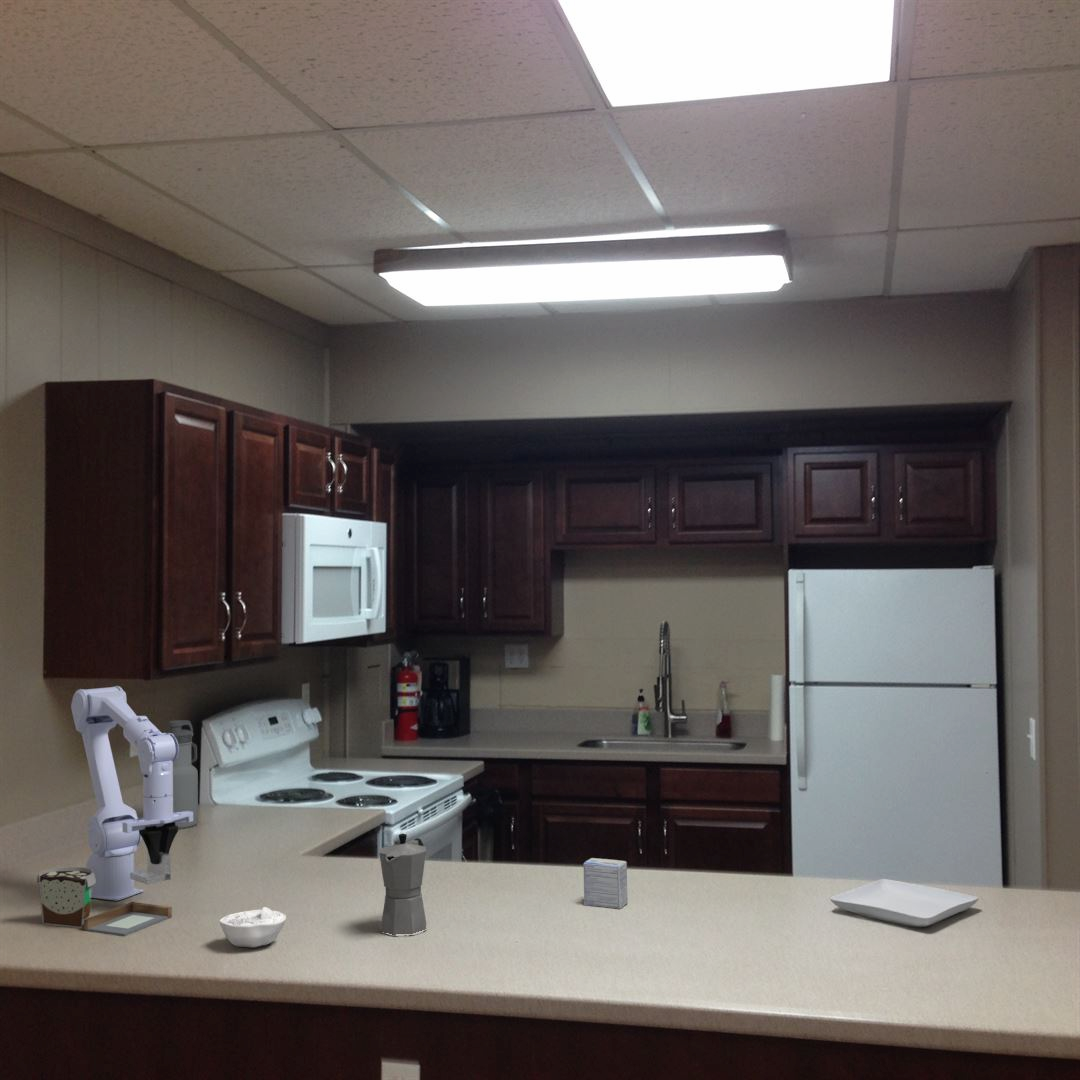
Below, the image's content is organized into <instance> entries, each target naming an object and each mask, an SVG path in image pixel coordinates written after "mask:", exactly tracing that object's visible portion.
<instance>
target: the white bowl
mask: <svg viewBox="0 0 1080 1080" xmlns="http://www.w3.org/2000/svg"><path fill="white" fill-rule="evenodd" d="M286 919H287V915H286V914H285V913H282V912H281V911H279V910H271V909H270V908H269V907H266V906H263V907H262V908H261V909H253V910H251V909H250V910H245V911H244V910H243V911H241V912H235V913H230V914H227V915H225V916H223V917H222V918H220V919H219V921H218V923H219V925H220V927H221V929H222V932H223V934H224V936H225V937H226V938H227V940H229V942H230V943H231V944H232V945H233V946H235V947H241V948H242V947H244V948H245V947H246V948H257V947H261V946H262V945H263V946H267V945H268V944H269V945H270V943H273V942H274V941H275V940H276V939H277V938H278V937H279V935H280V932H281V931H282V930H283V927H284V925H285V922H286ZM263 946H262V947H263Z"/></svg>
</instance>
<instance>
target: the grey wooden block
mask: <svg viewBox="0 0 1080 1080" xmlns="http://www.w3.org/2000/svg"><path fill="white" fill-rule="evenodd" d="M582 866H583V904H584V906H590V907H591V906H592V907H599V908H601V907H602V908H609V909H618V910H619V909H622V908H623V907H624V906H626V905H627V904H628V899H629V898H628V868H627V867H628V863H627V861H626V860H618V859H608V858H595V857H591V858H589V859H587V860H585V861H584V863H583V865H582Z"/></svg>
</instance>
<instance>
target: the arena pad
mask: <svg viewBox="0 0 1080 1080" xmlns="http://www.w3.org/2000/svg"><path fill="white" fill-rule="evenodd" d="M168 919H169V918H168V916H161V915H154V914H146V913H138V912H130V913H128V914H125V915H122V916H120V917H117V918H115V919H112V920H109V921H107V922H104V923H101V924H99V925H96V926H94V927H91V928H88V931H87V932H92V933H101V934H107V935H115V936H116V935H117V936H121V937H126V936H127V935H131V934H133V933H135V932H139V931H141V930H142V929H145V928H147V927H151V926H153V925H155V924H159V923H161V922H164V921H165V920H168Z"/></svg>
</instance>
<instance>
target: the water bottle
mask: <svg viewBox="0 0 1080 1080" xmlns="http://www.w3.org/2000/svg"><path fill="white" fill-rule="evenodd" d="M168 727H169V730H168V731H166V732H165V733H166V734H167V733H172V734H173V735H174V736H175V738H176V739H177V742H178V746H179V752H178V757H177V759H176V760H175V761H173V813H175V812H184V811H191V812H193V821H192V822H182V823H176V824H175V825H176V826H178V830H181V829H183V830H184V829H189V828H192V827H195V826H196V825H197V824H198V822H199V779H198V778H199V775H198V774H199V773H198V769H197V768H196V767H195V766H194V765H192V763H195V762H197V759H198V746H197V744H196V743H193V741H192V740H193V736H194V728H193V725H192V723H191V721H190V720H186V719H185V720H183V719H182V720H180V719H178V720H177V719H175V720H170V721H169V722H168ZM192 748H193V759H192Z"/></svg>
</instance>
